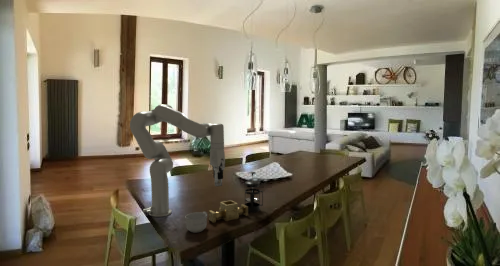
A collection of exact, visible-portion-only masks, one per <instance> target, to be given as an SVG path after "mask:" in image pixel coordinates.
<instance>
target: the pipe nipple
mask: <svg viewBox="0 0 500 266" xmlns="http://www.w3.org/2000/svg"><path fill="white" fill-rule="evenodd" d="M220 166H221V165H220ZM220 168H221V167H220ZM214 170H215V178H214V186H215V187H222V186H223V179H218V174H217V172H218V167H215V166H214Z"/></svg>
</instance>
